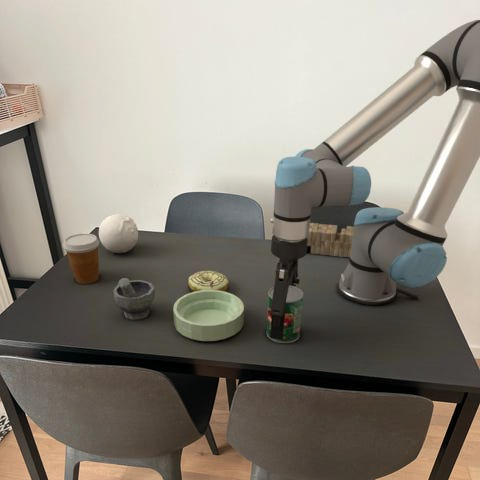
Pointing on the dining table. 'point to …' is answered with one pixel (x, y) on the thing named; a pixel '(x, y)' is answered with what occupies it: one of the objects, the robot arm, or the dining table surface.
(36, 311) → the dining table surface
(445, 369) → the dining table surface
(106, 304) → the dining table surface
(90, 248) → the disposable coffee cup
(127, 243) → the decorative ball
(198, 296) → the bowl
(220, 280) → the decorated donut
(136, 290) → the mortar and pestle
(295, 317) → the canned tomato
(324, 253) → the block tower
